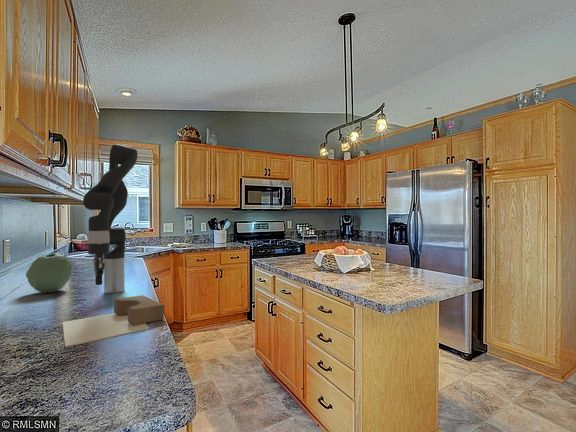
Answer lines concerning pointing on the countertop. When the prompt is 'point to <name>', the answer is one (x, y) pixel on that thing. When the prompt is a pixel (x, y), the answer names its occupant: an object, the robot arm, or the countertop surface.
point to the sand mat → (98, 328)
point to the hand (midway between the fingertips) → (98, 284)
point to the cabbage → (49, 272)
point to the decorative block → (139, 309)
